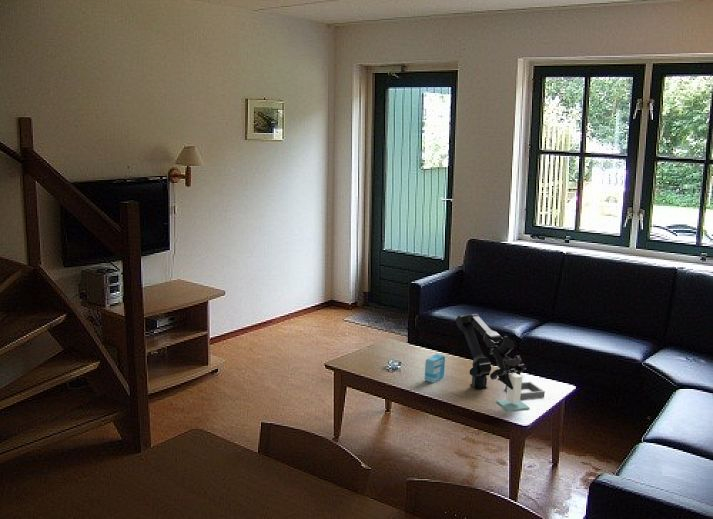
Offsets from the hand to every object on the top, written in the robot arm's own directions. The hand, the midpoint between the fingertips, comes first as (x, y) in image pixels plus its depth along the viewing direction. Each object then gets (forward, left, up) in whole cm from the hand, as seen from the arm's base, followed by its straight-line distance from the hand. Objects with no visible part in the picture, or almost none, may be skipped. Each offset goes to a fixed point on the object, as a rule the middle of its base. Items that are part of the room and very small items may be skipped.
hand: (516, 388), depth 324 cm
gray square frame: (+14, +14, -9) cm, 22 cm away
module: (0, +1, -7) cm, 7 cm away
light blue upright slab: (-23, +40, -9) cm, 47 cm away
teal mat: (0, +1, -9) cm, 9 cm away
